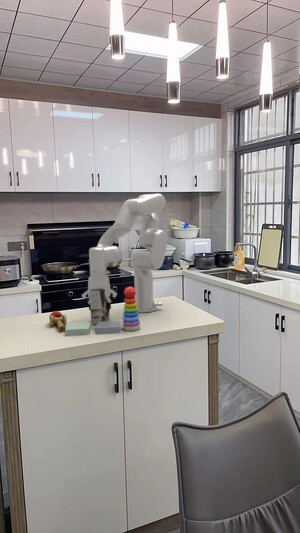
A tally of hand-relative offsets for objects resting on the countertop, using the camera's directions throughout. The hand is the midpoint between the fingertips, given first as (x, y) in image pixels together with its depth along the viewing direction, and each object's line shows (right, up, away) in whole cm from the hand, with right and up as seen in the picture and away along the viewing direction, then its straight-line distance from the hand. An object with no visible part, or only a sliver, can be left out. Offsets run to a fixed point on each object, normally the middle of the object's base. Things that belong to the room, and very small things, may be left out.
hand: (100, 310), depth 176 cm
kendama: (-18, -7, -4) cm, 20 cm away
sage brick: (-8, -8, -13) cm, 17 cm away
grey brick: (+5, -7, -12) cm, 15 cm away
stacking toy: (+15, -7, -11) cm, 20 cm away
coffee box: (0, -6, +1) cm, 6 cm away
